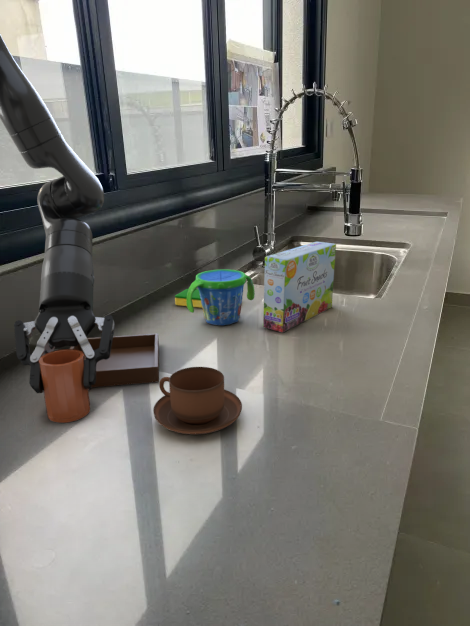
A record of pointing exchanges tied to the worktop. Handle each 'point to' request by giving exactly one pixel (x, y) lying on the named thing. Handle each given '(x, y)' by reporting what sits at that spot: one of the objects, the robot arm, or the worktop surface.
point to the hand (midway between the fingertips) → (63, 389)
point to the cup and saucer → (196, 402)
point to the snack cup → (221, 295)
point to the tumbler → (64, 385)
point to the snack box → (298, 285)
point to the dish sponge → (182, 298)
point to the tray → (127, 360)
